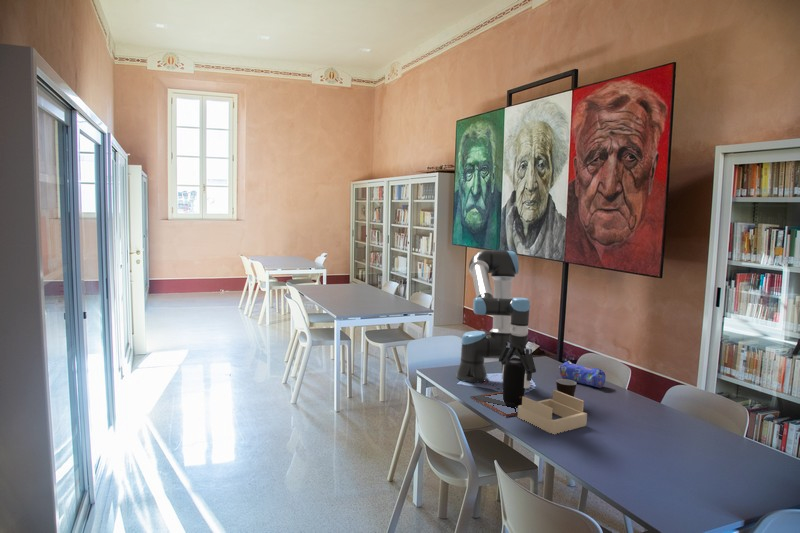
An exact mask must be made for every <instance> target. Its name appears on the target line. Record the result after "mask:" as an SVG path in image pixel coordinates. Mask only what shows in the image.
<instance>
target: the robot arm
mask: <svg viewBox="0 0 800 533" xmlns="http://www.w3.org/2000/svg"><path fill="white" fill-rule="evenodd" d="M519 262H520V261H519V258H518V255H517V252H515V251H512V250H501V249H500V250H499V249H498V250H497V249H496V250H495V249H494V250H493V249H483V250H480V251H478V252H477V253H475V254H474V255H473V256H472V257H471V258H470V260H469V264H468V272H469V273H470V275H471V276H472V280H473V285H474V286H473V287H474V291H475V292H474V293H475V297H474V298H473V300H472V302H473V303H472V310H473V313H474V314H475V315H479V316H480V315H481V316H492V328H491V329H490V330H489V334H487V333H486V332H485V331H483V330H471V331H466V332H465V333H463V335H462V336H461V341H460V343H461V349H460V350H461V353H460V361H459V362H460V363H459V366H458V369H457V371H456V375H455V377H456V376H457V377H456V379H458V378H459V379H458V380H460V379H461V380H460V381H462V380H465V381H464V382H467V381H471V382H470V383H479V382H478V381H483V382H485V381H487V379H488V378H487V377H488V374H487V370H486V367H485V359H496V360H497V359H498V362H500V363H501V371H502V373H501V374H502V375H501V380H503V372H504V368H505V364H506V359H512V358H514V356H516V357H517V358H519V359H521V361H522V363H523V365H524V368H525V372H526V373H525V379H524V388H525V389H529V388H530V387H531V381H532V375H533V373H535V374H536V373H537V370H536V364H535V362H534V357H533V350H532V348H527V344H528V338H529V336H528V334H529V322H530V321H529V320H530V309H531V305H530V303H531V301H530V299H529V298H526V297H519V296H518V297H517V296H516V297H512V283H513V282H512V281H513V280H514V279H515V277H516V275H518V274H519V269H520V264H519ZM489 274H491V275H490V276H491V279H493V284H494V285H493V289H492V284H491V280H490V276H489ZM484 380H485V381H484Z"/></svg>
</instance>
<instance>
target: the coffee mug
mask: <svg viewBox="0 0 800 533" xmlns="http://www.w3.org/2000/svg"><path fill="white" fill-rule="evenodd" d="M555 384H556V390H557V391H559V392H562V393H564V394H567V395H570V396H572V397H575V394H576V390H577V389H576V388H577V382H575V381H572V380H568V379H564V378H559V379H556V380H555Z"/></svg>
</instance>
